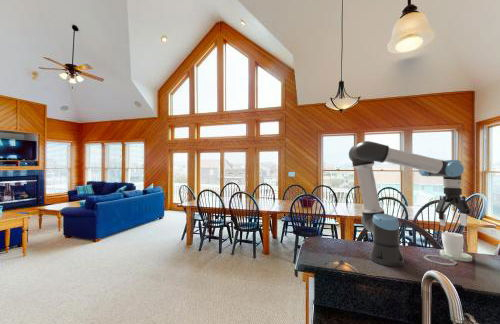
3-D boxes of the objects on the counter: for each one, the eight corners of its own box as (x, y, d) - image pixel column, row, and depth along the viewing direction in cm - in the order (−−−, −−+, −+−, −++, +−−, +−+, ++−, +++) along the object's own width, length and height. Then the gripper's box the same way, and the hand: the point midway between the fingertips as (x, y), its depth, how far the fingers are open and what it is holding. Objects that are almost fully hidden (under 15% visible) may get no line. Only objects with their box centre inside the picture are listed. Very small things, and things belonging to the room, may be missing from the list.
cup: (437, 253, 124) (437, 231, 125) (451, 252, 125) (451, 231, 126) (454, 259, 115) (453, 236, 116) (469, 258, 116) (468, 236, 117)
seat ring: (433, 264, 110) (433, 262, 110) (419, 255, 122) (419, 254, 122) (462, 266, 107) (462, 265, 107) (445, 257, 119) (445, 255, 119)
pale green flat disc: (449, 260, 115) (449, 257, 115) (434, 251, 128) (434, 248, 128) (479, 262, 112) (478, 259, 113) (460, 253, 125) (460, 250, 125)
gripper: (439, 187, 117) (440, 227, 116) (478, 188, 120) (480, 226, 119) (426, 186, 124) (427, 223, 123) (463, 187, 128) (464, 223, 127)
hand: (453, 225), depth 121 cm, fingers open, 13 cm apart
